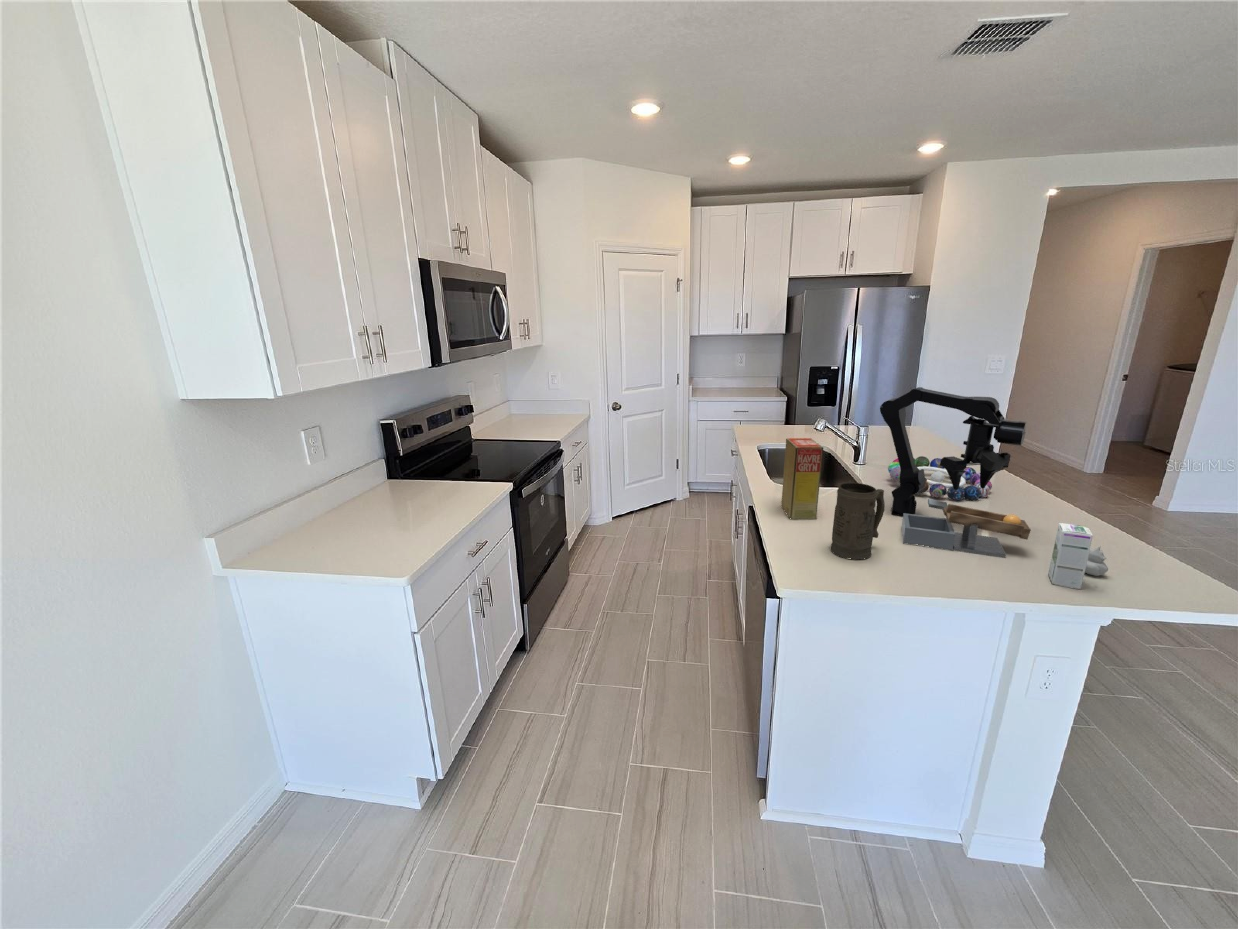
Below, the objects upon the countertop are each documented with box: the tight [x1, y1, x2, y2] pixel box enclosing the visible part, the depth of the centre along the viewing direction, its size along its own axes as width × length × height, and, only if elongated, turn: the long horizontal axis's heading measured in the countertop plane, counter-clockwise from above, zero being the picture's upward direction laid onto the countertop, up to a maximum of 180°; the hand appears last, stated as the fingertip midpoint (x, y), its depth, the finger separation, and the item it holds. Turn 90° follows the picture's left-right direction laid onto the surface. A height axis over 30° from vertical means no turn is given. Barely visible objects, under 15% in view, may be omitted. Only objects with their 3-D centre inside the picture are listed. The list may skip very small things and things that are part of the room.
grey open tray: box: [900, 513, 956, 551], centre depth 151 cm, size 12×12×5 cm
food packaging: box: [780, 437, 824, 520], centre depth 171 cm, size 13×9×25 cm
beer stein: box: [830, 482, 885, 560], centre depth 143 cm, size 15×11×20 cm
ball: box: [1003, 514, 1022, 525], centre depth 141 cm, size 4×4×4 cm
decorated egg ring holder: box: [887, 455, 993, 502], centre depth 195 cm, size 35×35×9 cm
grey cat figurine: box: [1085, 545, 1109, 577], centre depth 128 cm, size 5×7×8 cm
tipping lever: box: [927, 498, 1032, 540], centre depth 148 cm, size 23×16×4 cm
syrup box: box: [1047, 522, 1094, 590], centre depth 124 cm, size 6×6×14 cm
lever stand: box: [953, 524, 1007, 559], centre depth 145 cm, size 12×12×8 cm
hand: (968, 488), depth 156 cm, fingers open, 9 cm apart
